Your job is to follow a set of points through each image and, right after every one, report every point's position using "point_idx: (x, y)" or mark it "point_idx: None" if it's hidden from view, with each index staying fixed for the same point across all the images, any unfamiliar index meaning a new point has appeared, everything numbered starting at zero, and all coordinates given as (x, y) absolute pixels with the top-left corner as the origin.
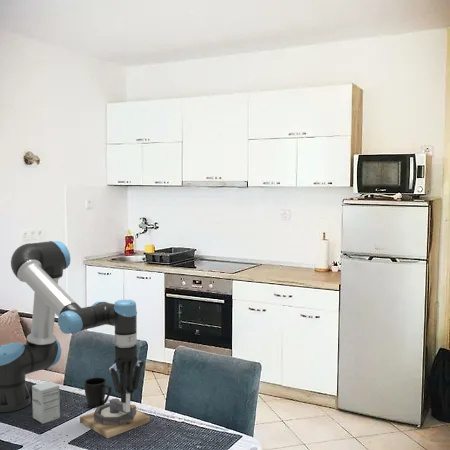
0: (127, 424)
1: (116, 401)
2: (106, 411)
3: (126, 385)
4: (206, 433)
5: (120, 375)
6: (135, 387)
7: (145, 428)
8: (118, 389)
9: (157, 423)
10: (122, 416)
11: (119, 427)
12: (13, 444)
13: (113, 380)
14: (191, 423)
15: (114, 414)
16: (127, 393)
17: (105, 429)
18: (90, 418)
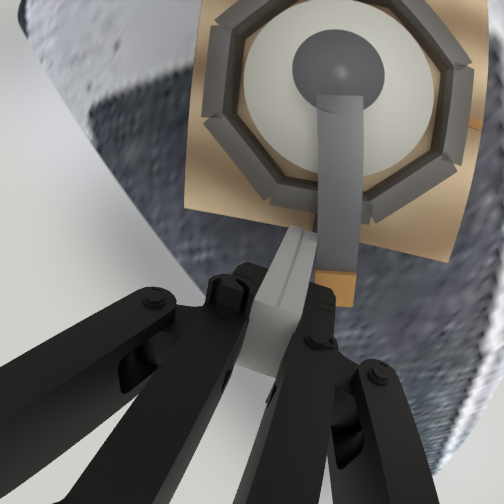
0: (309, 225)
1: (336, 98)
2: (300, 40)
3: (284, 373)
4: (420, 437)
5: (82, 490)
6: (334, 432)
7: (373, 276)
8: (118, 373)
9: (440, 288)
10: (297, 203)
11: (256, 215)
12: (22, 20)
13: (15, 381)
14: (475, 382)
15: (303, 118)
16: (257, 361)
17: (197, 172)
18: (230, 2)
